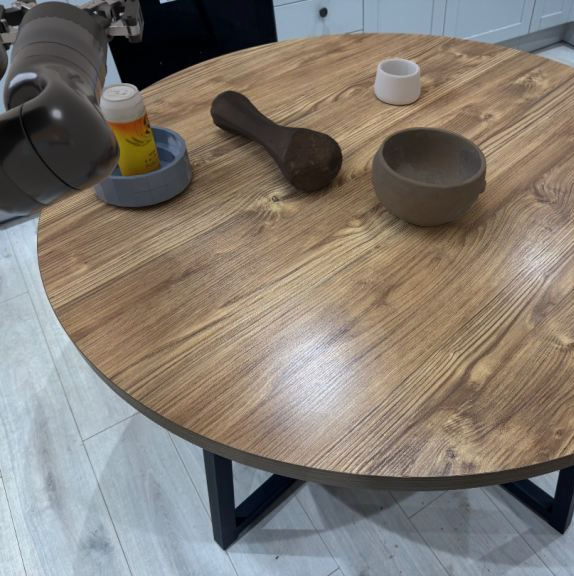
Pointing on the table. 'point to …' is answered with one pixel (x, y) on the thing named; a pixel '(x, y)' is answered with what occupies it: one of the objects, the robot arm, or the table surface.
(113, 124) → the beer can
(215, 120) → the dark brown pestle
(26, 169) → the robot arm
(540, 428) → the table surface
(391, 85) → the white tapered round piece
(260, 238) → the table surface
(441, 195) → the bowl
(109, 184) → the blue bowl
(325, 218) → the table surface
